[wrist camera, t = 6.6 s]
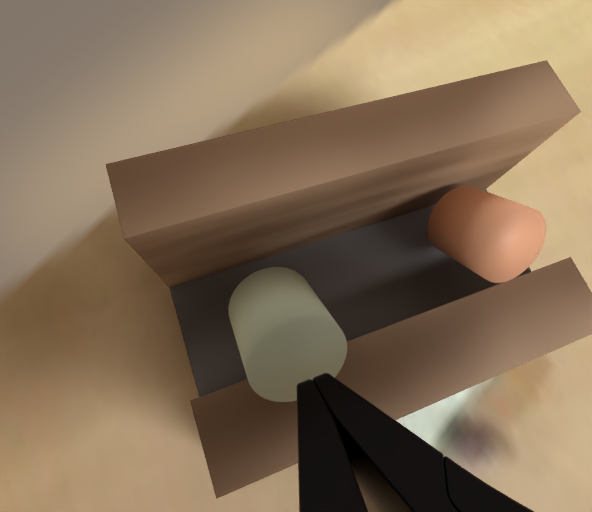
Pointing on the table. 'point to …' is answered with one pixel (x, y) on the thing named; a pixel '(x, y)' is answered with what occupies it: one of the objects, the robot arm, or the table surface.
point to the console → (351, 251)
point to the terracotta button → (486, 232)
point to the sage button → (283, 333)
